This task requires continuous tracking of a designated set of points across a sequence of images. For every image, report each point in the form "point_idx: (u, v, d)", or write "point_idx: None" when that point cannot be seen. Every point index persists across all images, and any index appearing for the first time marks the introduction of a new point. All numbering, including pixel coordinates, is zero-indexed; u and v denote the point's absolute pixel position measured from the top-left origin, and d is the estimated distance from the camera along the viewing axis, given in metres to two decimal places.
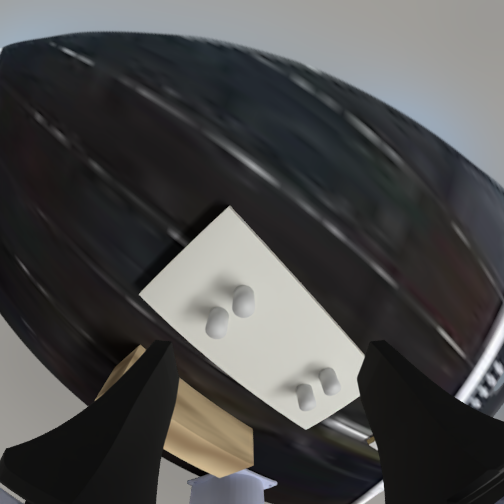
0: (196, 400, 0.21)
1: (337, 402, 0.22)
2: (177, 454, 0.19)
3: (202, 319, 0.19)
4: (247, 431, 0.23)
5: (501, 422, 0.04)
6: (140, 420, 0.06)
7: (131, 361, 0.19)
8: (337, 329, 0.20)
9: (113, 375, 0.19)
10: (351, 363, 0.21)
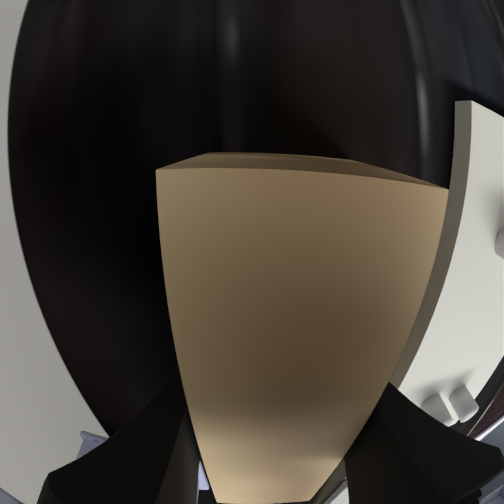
0: None
1: None
2: (215, 466, 0.07)
3: (493, 226, 0.08)
4: None
5: (470, 439, 0.04)
6: (187, 427, 0.06)
7: None
8: None
9: (263, 157, 0.06)
10: (471, 393, 0.12)
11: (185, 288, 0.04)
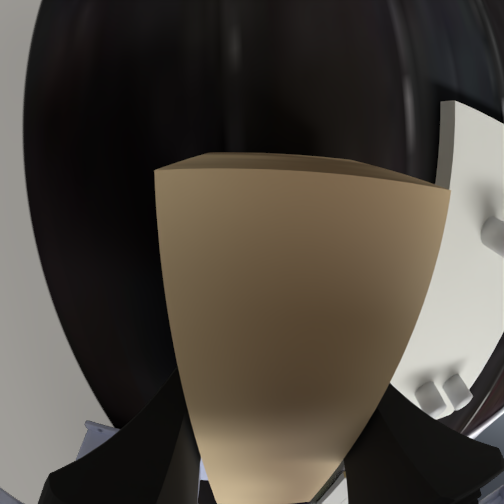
0: None
1: None
2: (215, 468, 0.07)
3: (479, 217, 0.09)
4: None
5: (469, 440, 0.04)
6: (188, 427, 0.06)
7: None
8: (499, 338, 0.12)
9: (263, 157, 0.06)
10: (466, 383, 0.13)
11: (184, 290, 0.04)
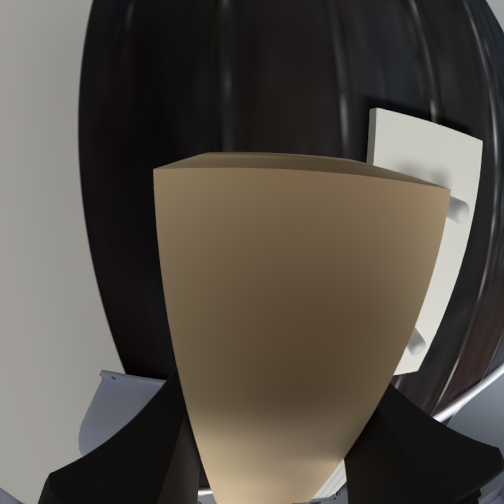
0: None
1: None
2: (215, 468, 0.07)
3: None
4: None
5: (469, 440, 0.04)
6: (188, 427, 0.06)
7: None
8: (449, 296, 0.17)
9: (263, 157, 0.06)
10: (424, 337, 0.19)
11: (183, 290, 0.04)
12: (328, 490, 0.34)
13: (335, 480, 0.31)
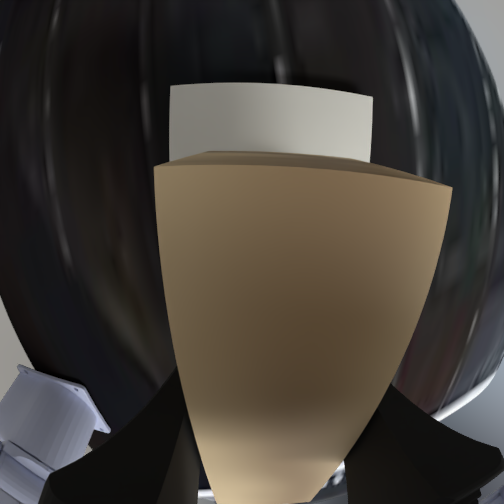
0: None
1: None
2: (215, 468, 0.07)
3: None
4: None
5: (469, 440, 0.04)
6: (188, 427, 0.06)
7: None
8: None
9: (263, 155, 0.06)
10: None
11: (184, 288, 0.04)
12: None
13: None
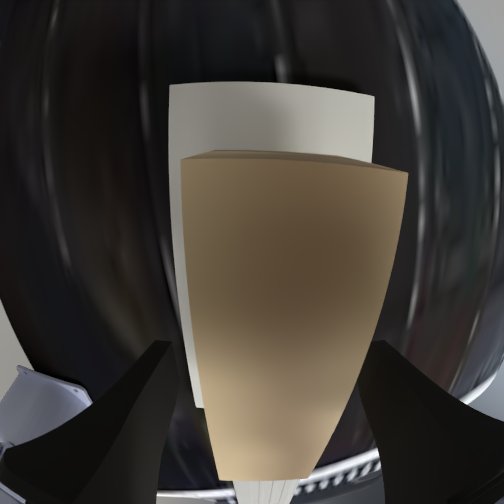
0: None
1: None
2: (219, 433, 0.08)
3: None
4: None
5: (501, 422, 0.04)
6: (140, 420, 0.06)
7: None
8: None
9: (260, 152, 0.07)
10: None
11: (200, 251, 0.05)
12: None
13: (274, 498, 0.29)
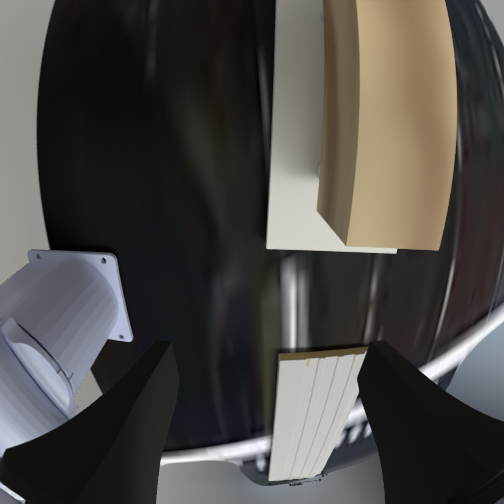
0: None
1: None
2: (369, 94, 0.07)
3: (313, 8, 0.11)
4: None
5: (501, 422, 0.04)
6: (140, 420, 0.06)
7: None
8: None
9: None
10: None
11: None
12: (309, 467, 0.31)
13: (314, 450, 0.28)
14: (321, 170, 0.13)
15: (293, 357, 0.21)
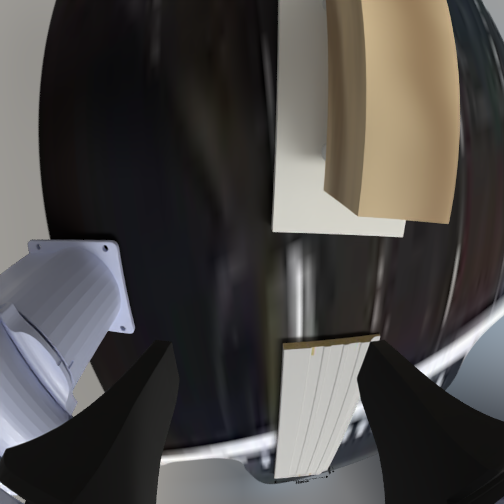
0: None
1: (343, 217, 0.16)
2: (375, 67, 0.07)
3: None
4: None
5: (501, 422, 0.04)
6: (140, 420, 0.06)
7: None
8: None
9: None
10: None
11: None
12: (316, 463, 0.30)
13: (320, 446, 0.28)
14: (327, 149, 0.13)
15: (297, 346, 0.21)
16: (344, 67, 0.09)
